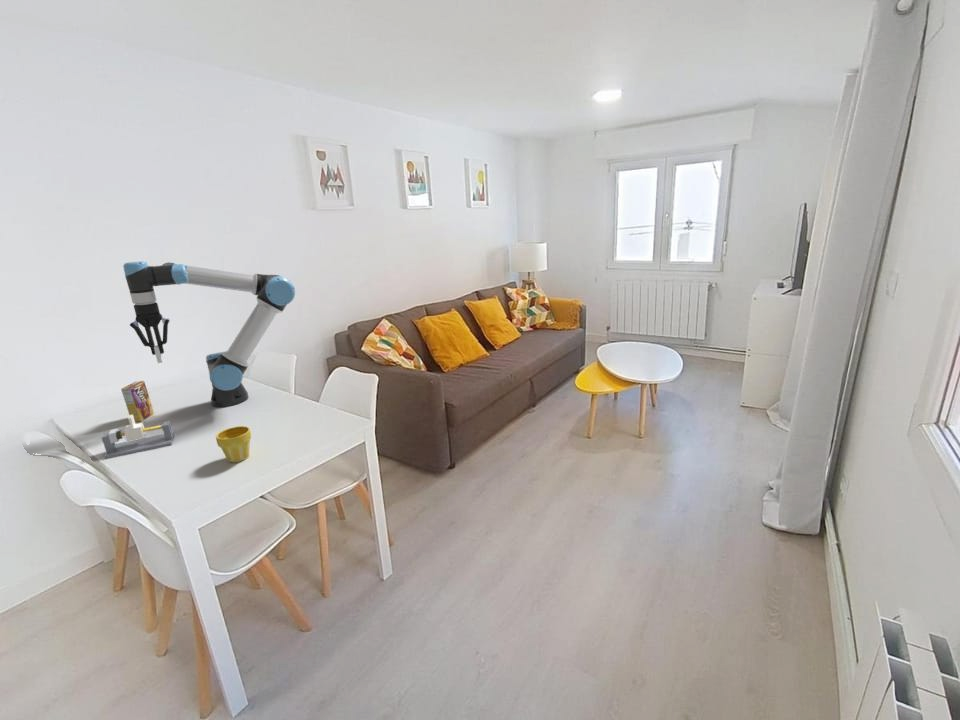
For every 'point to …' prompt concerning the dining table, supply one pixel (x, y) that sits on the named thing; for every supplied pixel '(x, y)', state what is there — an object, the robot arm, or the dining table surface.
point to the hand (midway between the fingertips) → (160, 361)
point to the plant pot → (235, 443)
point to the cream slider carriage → (134, 430)
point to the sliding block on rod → (136, 441)
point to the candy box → (137, 400)
